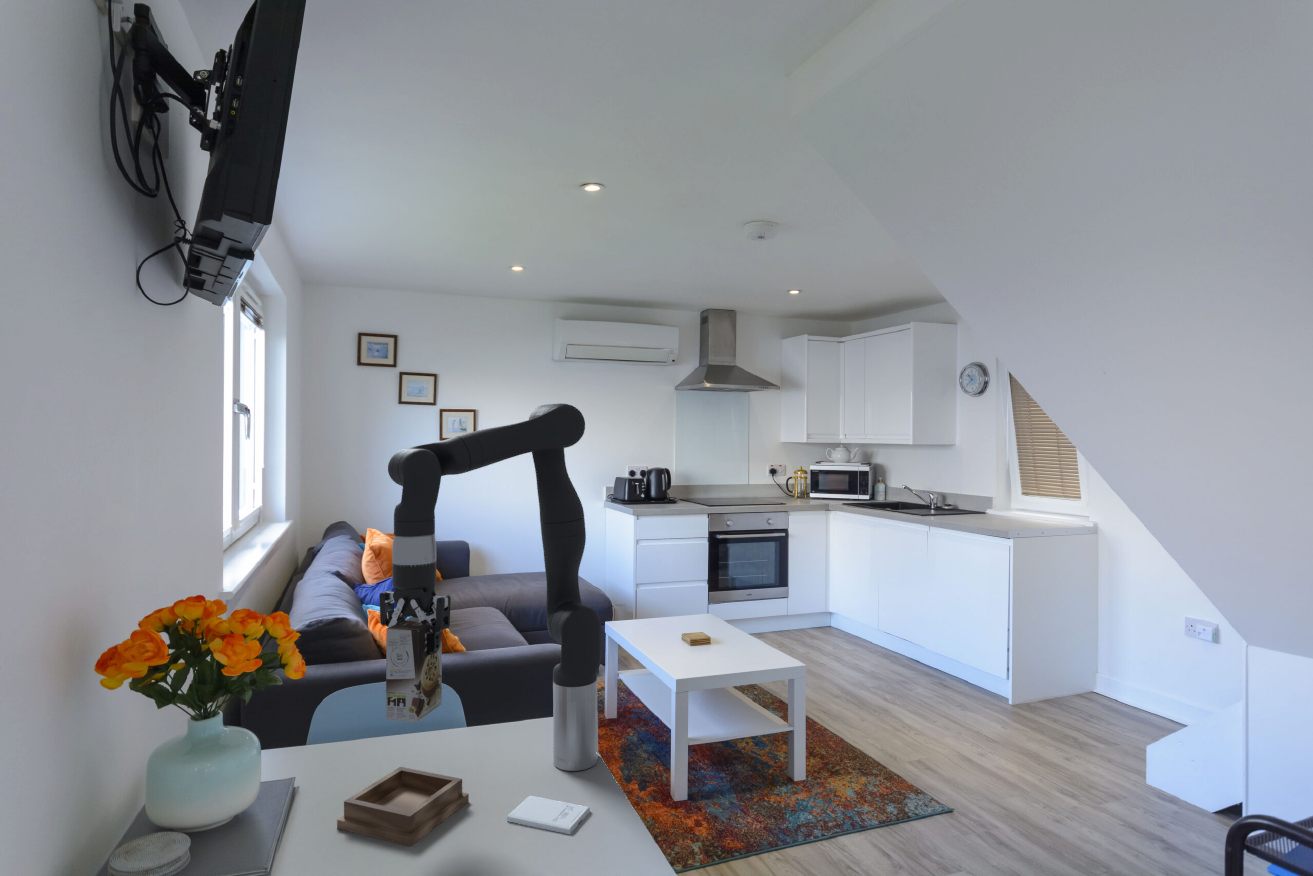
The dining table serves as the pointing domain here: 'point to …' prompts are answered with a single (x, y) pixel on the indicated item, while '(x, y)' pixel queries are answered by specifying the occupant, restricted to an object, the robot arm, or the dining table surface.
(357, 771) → the dining table surface
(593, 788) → the dining table surface
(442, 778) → the wooden tray
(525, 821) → the external hard drive
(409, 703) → the coffee box
